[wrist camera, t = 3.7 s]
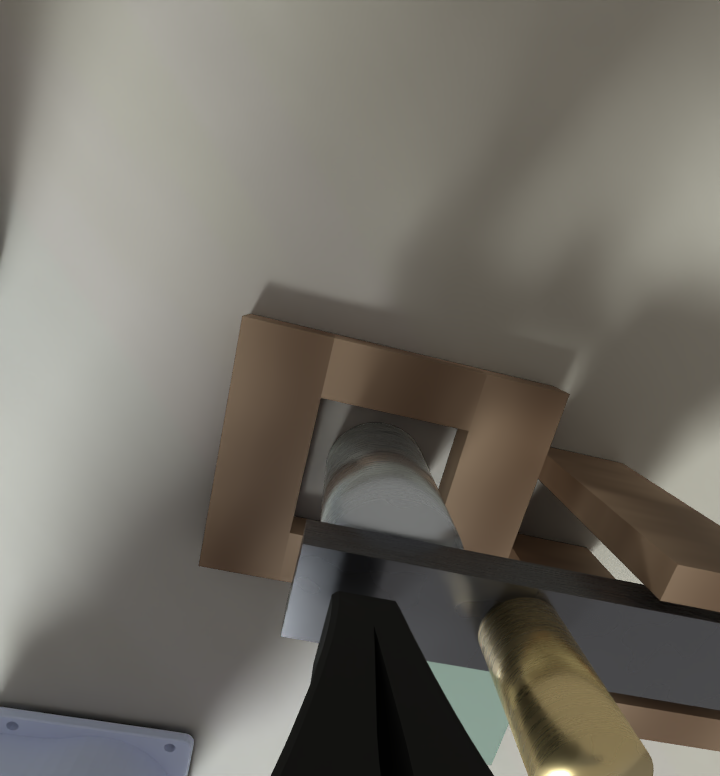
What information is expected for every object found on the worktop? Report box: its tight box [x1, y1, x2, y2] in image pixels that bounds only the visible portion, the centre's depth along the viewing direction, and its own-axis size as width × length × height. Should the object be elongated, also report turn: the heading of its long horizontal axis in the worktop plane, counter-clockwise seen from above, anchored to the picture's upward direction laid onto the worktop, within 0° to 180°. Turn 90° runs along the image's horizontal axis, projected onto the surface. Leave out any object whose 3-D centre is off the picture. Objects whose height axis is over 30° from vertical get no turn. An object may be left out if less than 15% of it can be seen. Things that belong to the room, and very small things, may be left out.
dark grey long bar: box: [281, 519, 720, 776], centre depth 9 cm, size 14×2×4 cm, turn 76°
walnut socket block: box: [199, 314, 720, 751], centre depth 13 cm, size 16×10×8 cm, turn 76°
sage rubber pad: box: [427, 661, 509, 765], centre depth 19 cm, size 9×8×1 cm
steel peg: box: [320, 423, 464, 550], centre depth 14 cm, size 4×4×6 cm
